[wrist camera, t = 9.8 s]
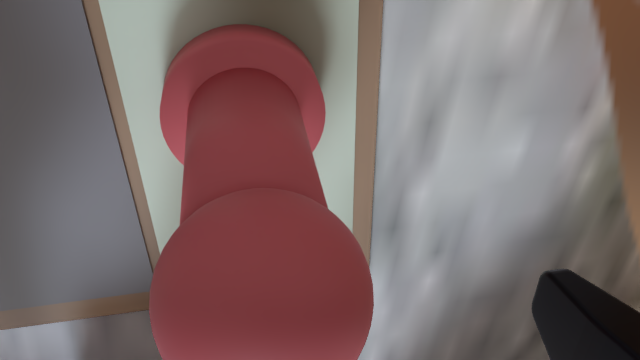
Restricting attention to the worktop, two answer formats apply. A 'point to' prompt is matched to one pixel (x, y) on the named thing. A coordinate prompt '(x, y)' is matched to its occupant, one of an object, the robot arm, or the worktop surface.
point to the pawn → (253, 211)
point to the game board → (144, 138)
